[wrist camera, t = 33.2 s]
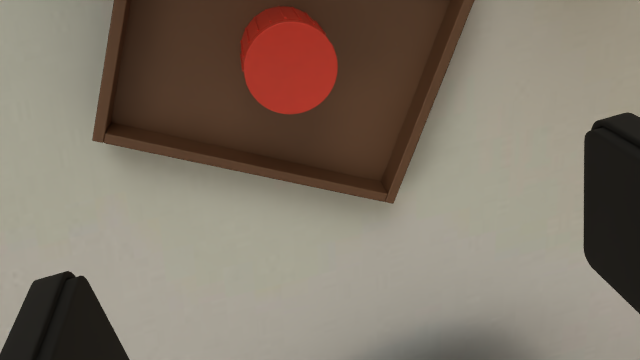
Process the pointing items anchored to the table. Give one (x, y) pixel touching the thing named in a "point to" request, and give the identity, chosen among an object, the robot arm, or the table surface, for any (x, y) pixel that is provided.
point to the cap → (287, 60)
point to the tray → (256, 120)
